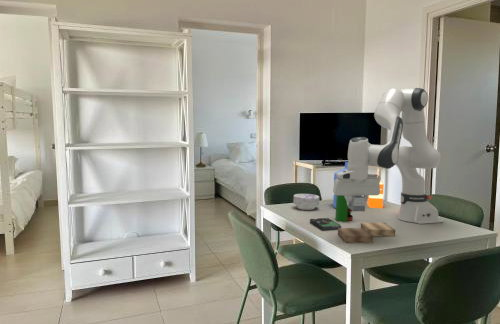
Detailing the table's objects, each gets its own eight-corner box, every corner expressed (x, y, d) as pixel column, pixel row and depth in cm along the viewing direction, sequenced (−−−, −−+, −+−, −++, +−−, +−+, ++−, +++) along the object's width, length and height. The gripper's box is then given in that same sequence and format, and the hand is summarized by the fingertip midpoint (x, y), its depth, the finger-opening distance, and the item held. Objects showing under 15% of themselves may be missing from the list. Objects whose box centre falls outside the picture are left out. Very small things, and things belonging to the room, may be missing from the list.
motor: (353, 222, 195) (354, 184, 193) (335, 221, 197) (336, 183, 195) (351, 217, 205) (353, 181, 203) (335, 216, 207) (336, 180, 205)
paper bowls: (318, 206, 233) (318, 193, 232) (319, 212, 218) (320, 198, 217) (293, 205, 234) (293, 192, 234) (293, 211, 219) (293, 197, 218)
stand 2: (384, 228, 185) (384, 222, 185) (395, 236, 173) (395, 229, 173) (360, 228, 184) (360, 222, 184) (369, 236, 173) (370, 229, 172)
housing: (358, 207, 172) (358, 194, 171) (364, 211, 164) (365, 197, 163) (347, 207, 171) (348, 194, 171) (353, 211, 163) (353, 197, 163)
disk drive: (309, 224, 194) (322, 232, 180) (309, 218, 194) (322, 226, 180) (327, 222, 197) (342, 230, 183) (327, 217, 197) (342, 224, 183)
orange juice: (379, 205, 237) (381, 173, 235) (382, 208, 229) (384, 175, 226) (367, 204, 238) (368, 173, 236) (369, 207, 230) (370, 175, 228)
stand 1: (363, 234, 175) (363, 228, 175) (372, 242, 163) (373, 235, 163) (337, 234, 175) (337, 228, 174) (345, 242, 163) (345, 236, 162)
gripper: (377, 173, 170) (376, 203, 171) (332, 173, 168) (331, 203, 170) (383, 175, 163) (381, 206, 165) (336, 175, 162) (335, 206, 164)
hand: (356, 205), depth 167 cm, fingers closed on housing, 5 cm apart
